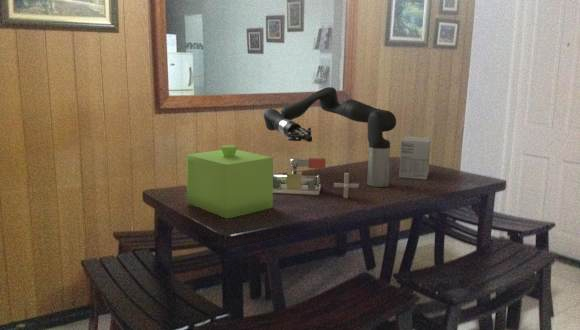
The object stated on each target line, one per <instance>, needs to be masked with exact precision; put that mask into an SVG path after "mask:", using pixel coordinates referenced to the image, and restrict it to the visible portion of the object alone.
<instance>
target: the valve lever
mask: <svg viewBox="0 0 580 330" xmlns="http://www.w3.org/2000/svg"><path fill="white" fill-rule="evenodd" d="M326 160H327V159H326V158H324V157H308V159H307V158H298V157H297V158H290V163H289V164H290V165H289V166H290V167H297V168H301V167H302V168H308V169H313V170H314V169H316V170H317V169H319V170H320V169H322V170H326V162H327V161H326Z"/></svg>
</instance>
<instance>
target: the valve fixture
mask: <svg viewBox="0 0 580 330" xmlns="http://www.w3.org/2000/svg"><path fill="white" fill-rule="evenodd" d="M297 169H298V167H292V169H291V170H292V171H290V170H289V171H287V173H286V174H276V173H275V174H274V173H273V194H290V195H291V194H292V195H294V194H295V195H311V196H315V195H316V196H319V195H320V192H321V189H322V188H321V187H322V184H320V174H317V175H303V171H297Z"/></svg>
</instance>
